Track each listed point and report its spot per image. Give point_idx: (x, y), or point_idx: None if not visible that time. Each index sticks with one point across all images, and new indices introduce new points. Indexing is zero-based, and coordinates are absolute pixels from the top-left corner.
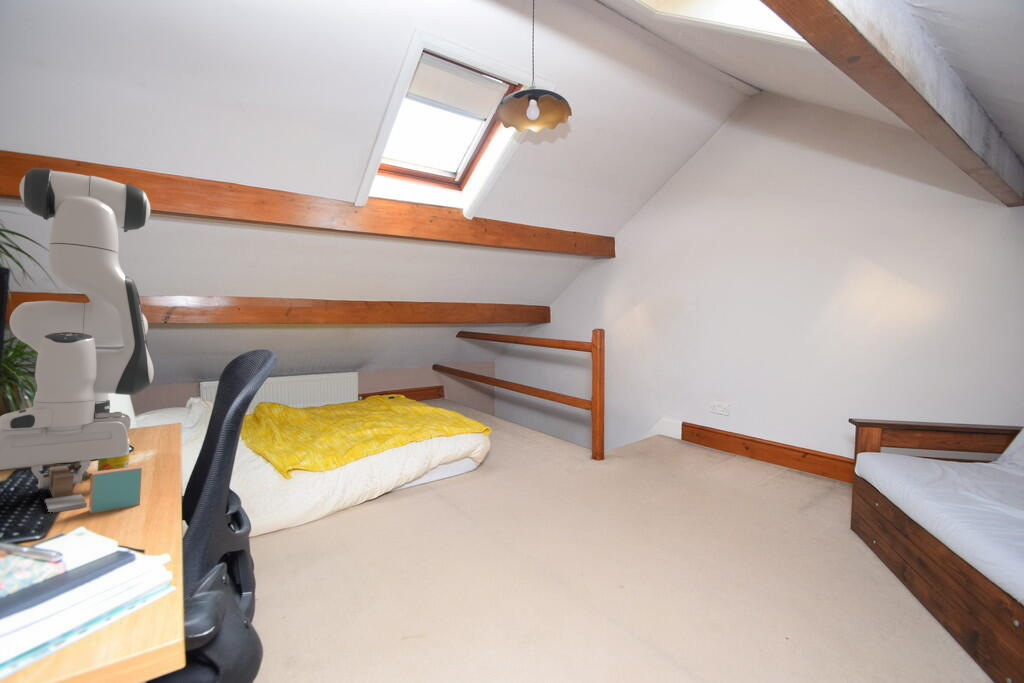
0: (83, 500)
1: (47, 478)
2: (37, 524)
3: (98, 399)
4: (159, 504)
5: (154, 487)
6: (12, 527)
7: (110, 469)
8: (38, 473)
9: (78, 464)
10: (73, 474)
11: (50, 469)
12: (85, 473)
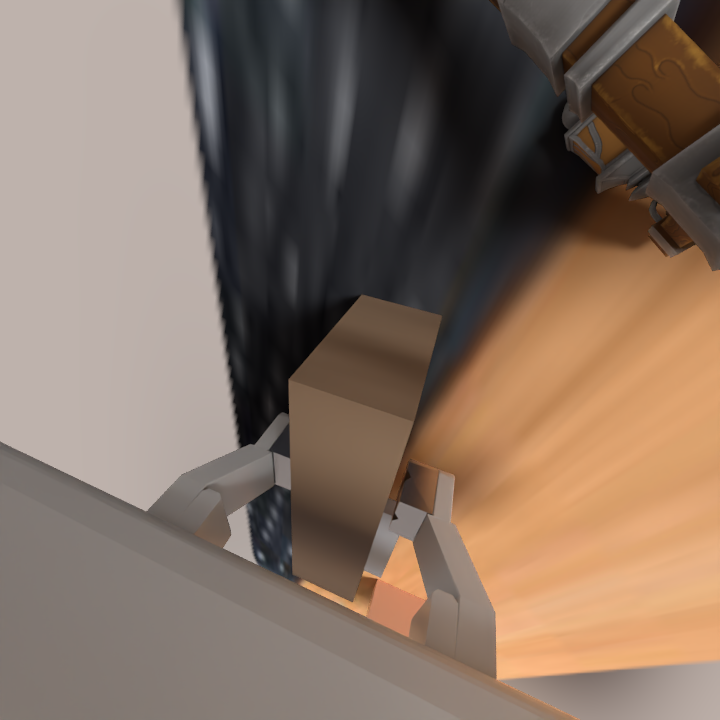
0: (382, 563)
1: (287, 484)
2: (287, 554)
3: None
4: (502, 660)
5: (662, 620)
6: (254, 535)
7: None
8: (229, 509)
9: (690, 219)
10: (399, 521)
11: (291, 436)
12: (676, 253)
